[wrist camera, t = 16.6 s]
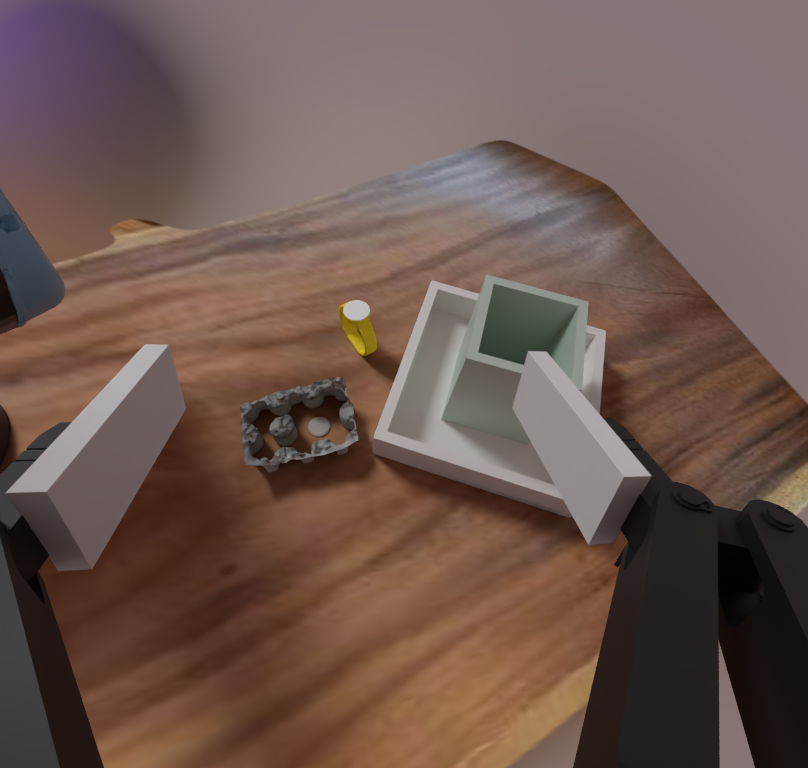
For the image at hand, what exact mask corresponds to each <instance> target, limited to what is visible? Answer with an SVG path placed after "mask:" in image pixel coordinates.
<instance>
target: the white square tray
mask: <svg viewBox="0 0 808 768" xmlns="http://www.w3.org/2000/svg"><path fill="white" fill-rule="evenodd" d="M478 296H479V294H477V293H474V292H470V291H467V290H463V289H460V288H456V287H453V286H450V285H446V284H443V283H439V282H436V281H431V283H430V286H429V289H428V292H427V294H426V297H425V300H424V302H423V305H422V308H421V310H420V313H419V316H418V318H417V321H416V324H415V327H414V329H413V332H412V335H411V337H410V340H409V343H408V345H407V348H406V351H405V353H404V356H403V359H402V362H401V364H400V367H399V370H398V372H397V375H396V378H395V380H394V383H393V386H392V388H391V391H390V394H389V397H388V399H387V402H386V405H385V407H384V410H383V413H382V415H381V418H380V421H379V424H378V426H377V429H376V432H375V434H374V437H373V454H375V455H378V456H381V457H384V458H387V459H391V460H394V461H397V462H400V463H403V464H406V465H409V466H412V467H415V468H418V469H421V470H424V471H427V472H430V473H433V474H436V475H439V476H443V477H446V478H449V479H452V480H455V481H458V482H461V483H464V484H467V485H470V486H473V487H476V488H479V489H482V490H485V491H488V492H491V493H494V494H498V495H501V496H504V497H507V498H510V499H513V500H516V501H519V502H522V503H525V504H528V505H531V506H534V507H537V508H540V509H543V510H546V511H549V512H553V513H556V514H559V515H562V516H565V517H568V518H571V517H573V516H572V514H571V513H570V511H569V509H568V507H567V506H566V504H565V502H564V500H563V498H562V497H561V495H560V493H559V491H558V489H557V488H556V486H555V484H554V482H553V480H552V479H551V477H550V475H549V473H548V471H547V470H546V468H545V466H544V464H543V462H542V461H541V459H540V457H539V455H538V453H537V452H536V450H535V448H534V446H533V444H532V443H531V441H530V442H528V443H527V444H524V443H520V442H517V441H513V440H510V439H506V438H503V437H499V436H496V435H493V434H489V433H486V432H482V431H479V430H475V429H472V428H468V427H465V426H462V425H458V424H455V423H451V422H448V421H444V420H441V418H442V414H443V410H444V406H445V402H446V398H447V394H448V391H449V387H450V383H451V379H452V375H453V371H454V367H455V363H456V359H457V356H458V352H459V348H460V346H461V343H462V340H463V337H464V335H465V332H466V329H467V327H468V324H469V321H470V318H471V316H472V313H473V310H474V307H475V305H476V302H477V299H478ZM605 336H606V331H605V330H601V329H598V328H595V327H591V326H588V325H587V329H586V343H585V357H584V372H583V386H582V391H581V393H582V394H583V395H584V397H585V398H586V399H587V400H588V401H589V402H590V404H591V405H592V406H593V407H594V408H595V410H596V411H597V412H598V413H599V414H600V404H601V390H602V377H603V363H604V350H605Z"/></svg>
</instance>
